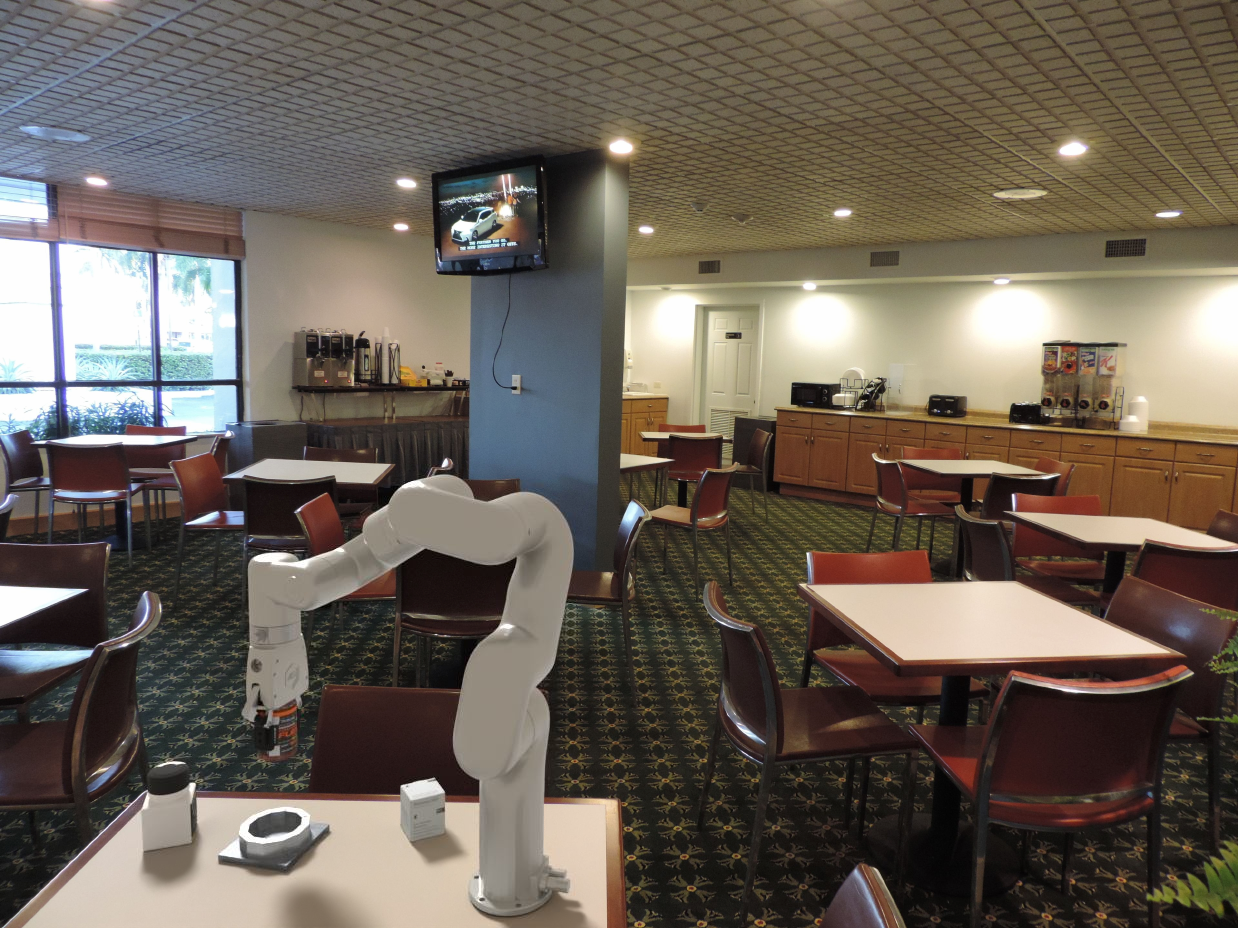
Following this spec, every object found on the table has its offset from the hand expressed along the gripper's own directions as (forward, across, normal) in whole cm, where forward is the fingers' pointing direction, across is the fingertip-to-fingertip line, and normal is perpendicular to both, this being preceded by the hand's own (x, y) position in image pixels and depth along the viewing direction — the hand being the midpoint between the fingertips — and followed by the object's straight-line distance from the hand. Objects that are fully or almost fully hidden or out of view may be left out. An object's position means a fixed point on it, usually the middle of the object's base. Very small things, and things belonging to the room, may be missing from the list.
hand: (277, 739), depth 131 cm
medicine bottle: (+18, -3, +18) cm, 26 cm away
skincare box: (+18, +10, -20) cm, 29 cm away
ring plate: (+18, -1, 0) cm, 18 cm away
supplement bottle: (+3, 0, 0) cm, 3 cm away
